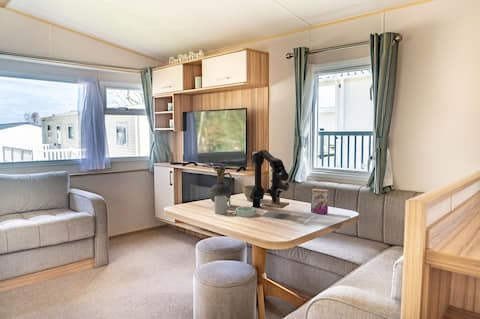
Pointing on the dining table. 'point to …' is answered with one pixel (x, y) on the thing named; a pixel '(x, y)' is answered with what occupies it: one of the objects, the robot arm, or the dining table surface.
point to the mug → (221, 204)
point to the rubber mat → (275, 215)
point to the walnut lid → (275, 205)
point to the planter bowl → (248, 191)
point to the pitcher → (220, 185)
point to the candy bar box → (319, 201)
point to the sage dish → (245, 211)
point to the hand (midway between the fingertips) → (275, 202)
